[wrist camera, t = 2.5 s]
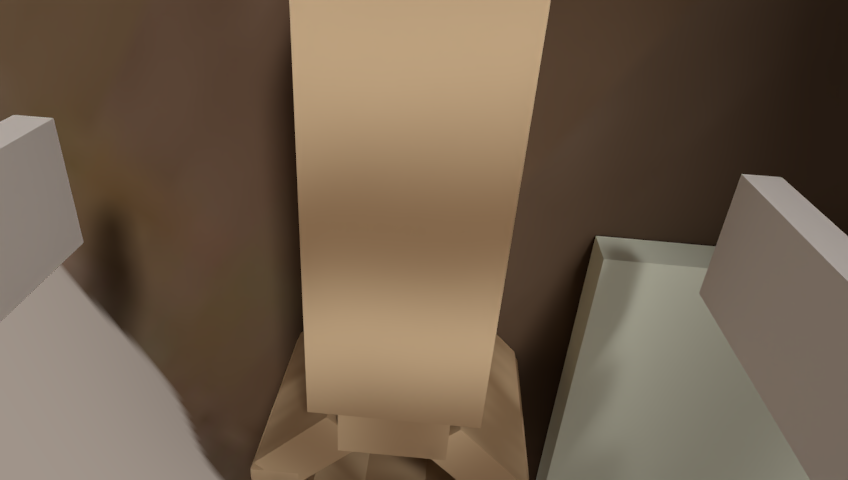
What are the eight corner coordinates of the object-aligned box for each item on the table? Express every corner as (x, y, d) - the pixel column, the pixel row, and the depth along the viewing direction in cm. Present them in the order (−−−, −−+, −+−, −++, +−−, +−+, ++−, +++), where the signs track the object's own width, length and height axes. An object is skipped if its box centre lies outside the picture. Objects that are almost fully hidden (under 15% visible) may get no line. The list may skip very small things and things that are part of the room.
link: (273, -151, 13) (174, -163, 9) (609, -125, 13) (681, -124, 8) (302, 442, 22) (263, 579, 18) (497, 460, 22) (504, 602, 18)
